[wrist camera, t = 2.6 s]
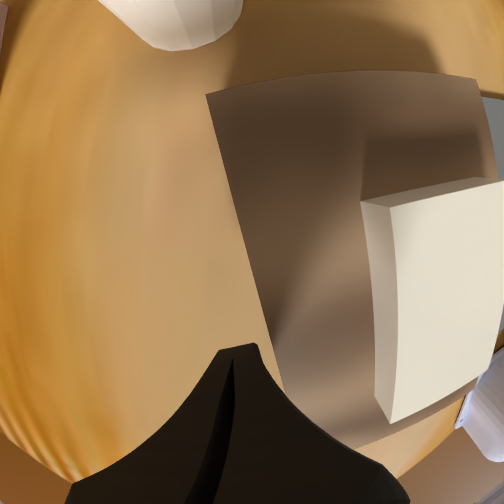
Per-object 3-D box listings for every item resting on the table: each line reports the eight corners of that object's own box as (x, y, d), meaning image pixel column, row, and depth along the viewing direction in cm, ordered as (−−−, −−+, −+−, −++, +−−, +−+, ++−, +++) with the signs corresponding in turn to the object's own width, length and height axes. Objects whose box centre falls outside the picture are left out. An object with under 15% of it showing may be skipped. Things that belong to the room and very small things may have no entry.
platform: (445, 359, 16) (474, 389, 12) (294, 417, 16) (304, 463, 12) (430, 94, 11) (475, 79, 7) (216, 120, 11) (205, 94, 8)
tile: (467, 350, 11) (488, 369, 9) (374, 396, 11) (390, 424, 9) (474, 177, 8) (507, 179, 6) (359, 201, 9) (389, 207, 7)
